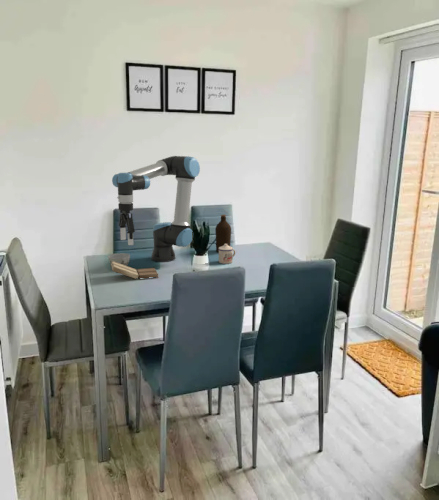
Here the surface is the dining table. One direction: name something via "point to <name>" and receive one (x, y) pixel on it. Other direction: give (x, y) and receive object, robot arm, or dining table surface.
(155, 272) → the walnut floor section
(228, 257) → the teacup with lid
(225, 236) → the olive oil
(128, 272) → the oak plank
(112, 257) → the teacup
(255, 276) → the dining table surface
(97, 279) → the dining table surface
